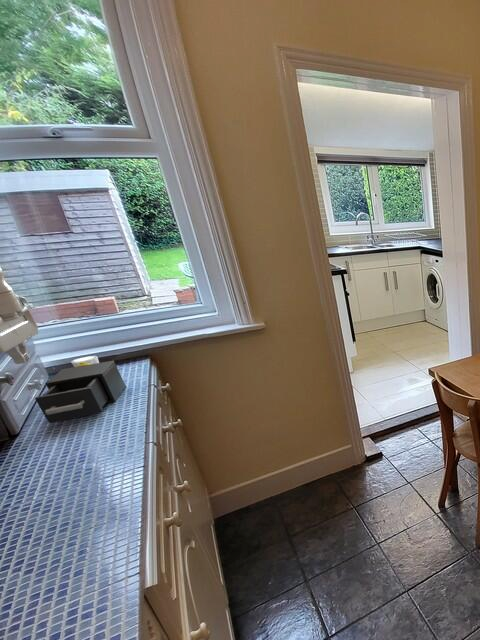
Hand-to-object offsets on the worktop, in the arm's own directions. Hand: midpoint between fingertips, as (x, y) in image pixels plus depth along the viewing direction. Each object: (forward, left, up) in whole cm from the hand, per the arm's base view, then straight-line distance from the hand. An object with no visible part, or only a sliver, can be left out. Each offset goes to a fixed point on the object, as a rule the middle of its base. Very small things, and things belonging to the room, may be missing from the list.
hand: (23, 361), depth 101 cm
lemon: (-5, +45, -21) cm, 50 cm away
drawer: (0, +14, -20) cm, 25 cm away
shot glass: (-7, +54, -21) cm, 58 cm away
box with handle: (0, +27, -21) cm, 34 cm away
